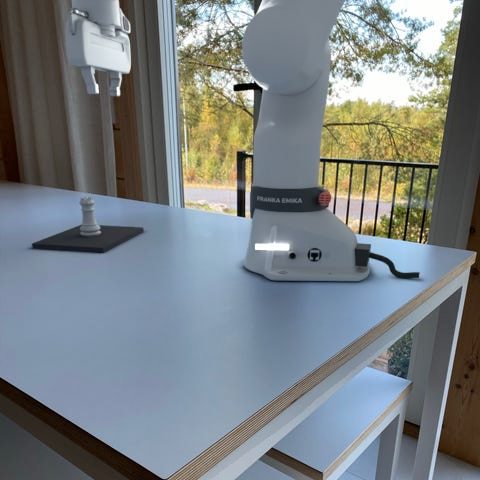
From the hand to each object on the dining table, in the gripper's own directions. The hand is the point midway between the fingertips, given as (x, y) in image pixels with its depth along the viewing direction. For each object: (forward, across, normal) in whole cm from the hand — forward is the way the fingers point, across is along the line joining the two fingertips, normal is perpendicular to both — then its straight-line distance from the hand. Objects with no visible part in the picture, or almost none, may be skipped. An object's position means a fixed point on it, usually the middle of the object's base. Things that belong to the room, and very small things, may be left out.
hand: (104, 95), depth 97 cm
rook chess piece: (+28, -5, +4) cm, 29 cm away
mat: (+29, -5, +4) cm, 30 cm away
